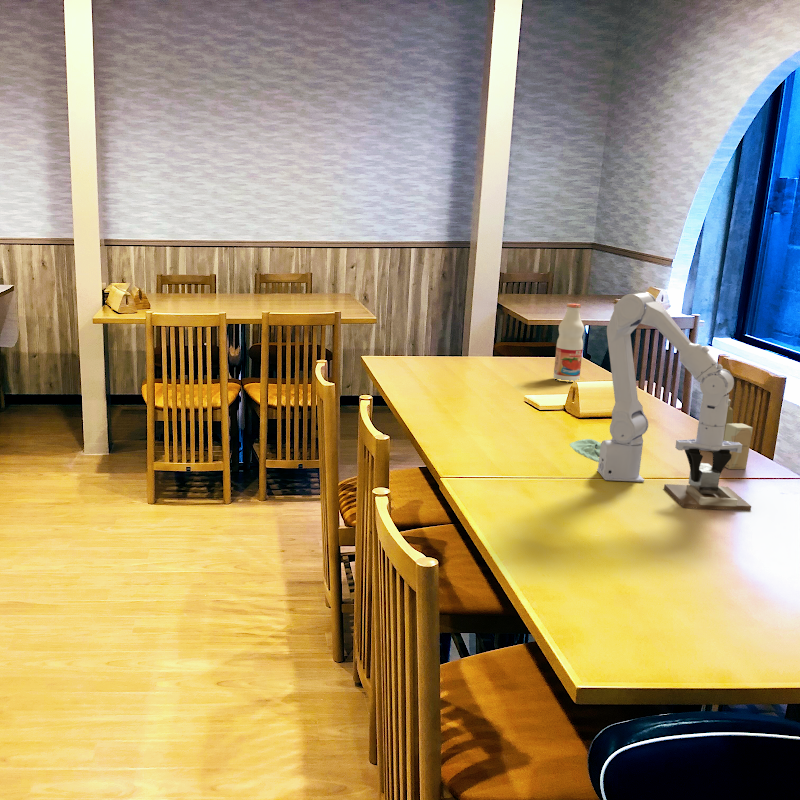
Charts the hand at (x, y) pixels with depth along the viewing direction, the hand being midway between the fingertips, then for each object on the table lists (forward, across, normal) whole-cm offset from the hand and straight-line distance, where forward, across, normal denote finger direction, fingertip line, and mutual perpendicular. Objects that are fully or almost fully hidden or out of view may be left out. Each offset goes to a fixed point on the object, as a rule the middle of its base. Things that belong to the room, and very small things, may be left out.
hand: (703, 480), depth 200 cm
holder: (+3, 0, -3) cm, 4 cm away
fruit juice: (+4, -4, +123) cm, 124 cm away
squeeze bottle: (+4, +18, +38) cm, 43 cm away
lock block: (+2, 0, 0) cm, 2 cm away
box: (+4, +17, +23) cm, 29 cm away
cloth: (+4, -14, +32) cm, 35 cm away
